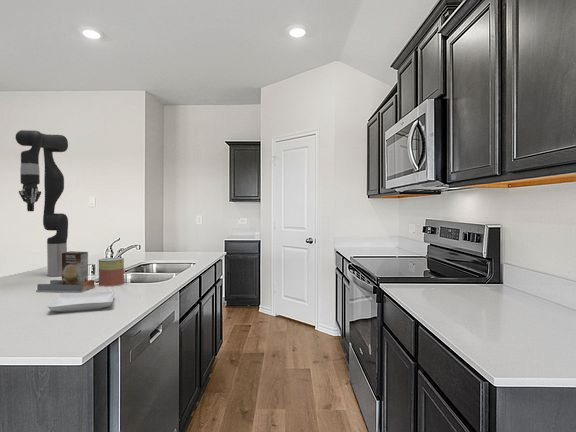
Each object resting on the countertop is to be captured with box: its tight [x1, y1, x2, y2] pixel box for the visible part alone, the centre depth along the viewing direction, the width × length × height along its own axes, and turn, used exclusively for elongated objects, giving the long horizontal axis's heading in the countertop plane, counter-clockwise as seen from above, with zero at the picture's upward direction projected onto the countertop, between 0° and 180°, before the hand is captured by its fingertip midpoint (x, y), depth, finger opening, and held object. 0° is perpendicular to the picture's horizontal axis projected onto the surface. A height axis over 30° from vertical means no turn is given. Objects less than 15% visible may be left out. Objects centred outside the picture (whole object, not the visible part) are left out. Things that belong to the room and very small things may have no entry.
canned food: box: [98, 257, 125, 287], centre depth 200 cm, size 11×11×12 cm
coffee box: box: [61, 250, 89, 284], centre depth 187 cm, size 9×6×16 cm
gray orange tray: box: [36, 279, 96, 294], centre depth 187 cm, size 12×20×4 cm, turn 88°
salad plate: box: [47, 290, 115, 313], centre depth 158 cm, size 21×21×3 cm
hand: (30, 211), depth 192 cm, fingers closed
